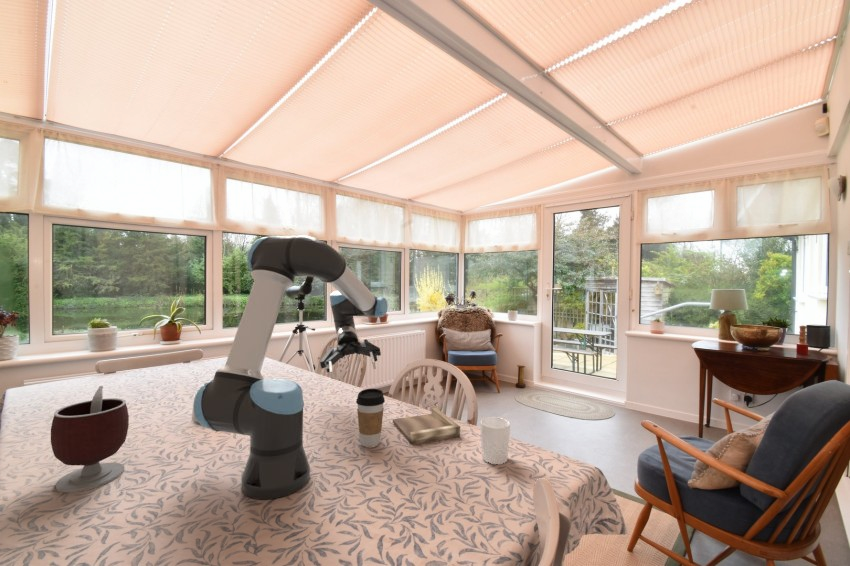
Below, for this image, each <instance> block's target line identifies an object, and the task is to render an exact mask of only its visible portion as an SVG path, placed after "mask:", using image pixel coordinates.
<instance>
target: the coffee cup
mask: <svg viewBox="0 0 850 566" xmlns="http://www.w3.org/2000/svg"><path fill="white" fill-rule="evenodd" d="M355 402H356V404H357V411H356V412H357V421H358V424H357V425H358V432H359V433H358V435H359V445H360V444H361V445H362V447H364V446H365V447H364V448H373V446H375V447H377V446H379V445H380V444H379V443H381V438H382V437H381V434H382V429H383V428H382V427H383V417H384V409H385V408H384V404H385V395H384V392H383V390H381V389H378V388H366V389H362V390H361V391H359V392H358V393H357V398H356V401H355ZM378 444H379V445H378ZM361 445H360V446H361ZM376 445H377V446H376Z"/></svg>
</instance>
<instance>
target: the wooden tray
mask: <svg viewBox="0 0 850 566" xmlns="http://www.w3.org/2000/svg"><path fill="white" fill-rule="evenodd" d="M393 423H394V424H393ZM392 424H393V425H394V427H396V429H397V430H398V429H399V430H400V431H399V432H400V433H401V434H402V435H403V437H404V438H405V437H406V438H405V439H406V440H407V441H408V442H409V443H410V444H412V445H411V446H414V444H416V445H420V443H421V444H426V442H427V443H431V442H436V441H437V442H439V441H442V440H443V439H444V440H448V439H455V438H460V437H461V425H459V424H458V423H456V422H455V421H454V420H453V419H451V418H450V416H448V415H446V414H445V413H443V412H442V411H441V410H440V409H438V408H437V407H432V408H431V413H428V414H427V413H426V414H420V415H414V416H407V417H406V416H405V417H401V418H392Z"/></svg>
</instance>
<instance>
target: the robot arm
mask: <svg viewBox="0 0 850 566" xmlns="http://www.w3.org/2000/svg"><path fill="white" fill-rule="evenodd" d="M247 264H248V268H249V270H250V271H251V272H250V276H251V278H252V279H253V284H252V287H251V290H250V292H249V295H248V298H247V301H246V304H245V307H244V310H243V312H242V317H241V318H240V321H239V323H238V324H239V325H238V327H237V331H236V333H235V336H234V339H233V342H232V345H231V347H230V350H229V353H228V355H227V356H228V357H227V358H226V362H225V364H224V366H223V367H220V368H218V369H216V370H215V373H214V375H213V379H211V380H208V381H207V382H205V383H204V385H202V386H200V387H199V389H198V391H197V392H196V395H195V396H194V397H195V398H194V402H193V413H194V417H195V418H196V420H197V422H198V424H199V425H201V426H202V427H203V428H206V429H209V430H213V431H214V432H221V433H222V432H225V433H229V434H237V435H242V436H243V435H244V436H250V437H249V438H250V439H249V440H250V441H249V446H250V447H249V455H248V457H247V461H246V464H245V468H244V470H243V473H242V475H241V491H242V493H243V494H244V495H245V496H247V497H249V498H251V499H254V500H271V499H272V500H273V499H278V498H283V497H285V496H289V495H291V494H294V493H295V492H297V491H299V490H300V489H302V488H303V487H305V486H306V485H307V484H308V482H309V480H310V478H311V466H310V463H309V460H308V457H307V454H306V451H305V448H304V445H303V441H304V440H303V437H304V435H303V432H304V431H303V429H304V407H305V402H304V397H303V395H304V393H303V389H302V386H300V385H299V384H298V383H297V382H295V381H294V380H293V381H292V380H289V379H286V378H264V377H263V375H262V373H261V371H262V368H263V364H264V361H265V358H266V355H267V352H268V349H269V346H270V345H269V344H270V341H271V338H272V336H273V332H274V329H275V325H276V322H277V318H278V316H279V313H280V309H281V307H282V302H283V299H284V296H285V294H286V290H287V289H290V288H292V287H293V285H294V283H295V282H294V281H295V279H296V277H312V278H317V279H319V280H320V281H321V282H323V283H325V284H330V285H331V286H332V287H333V288H334V289H335V290H333V292H331V293H330V294H329V301H330V308H331V311H332V316H333V317H332V318H333V322H334V328H335V333H336V341H337V346H336V347H335V348H334V347H332V346H329V347H328V350H327V352H326V353H325V354H324V355H323V357H322V358H321V360H320V361H319V364H320V368H321V369H322V370H323V369H325V370H326V373H329V375H330V380H333V379H335V378H334V377H335V376H334V367H333V366H334V365H335V364H336V363H337V362H338V361H339V360H340V359H343V358H344V357H345V356H350V355H354V354H356V355H363V356H366V357H369V358H370V362H371V364H372V365H371V366H372V368H373V370H376V369H377V366H376V362H377V361H378V357H379V356H381V355H382V354H381V353H382V352H381V348H380V347H378V346H376V345H375V344H374V343H372V342H369V340H368V339H363V341H362V342H360V341H359V337H358V332H357V330H356V324H355V319H354V317H363V318H365V317H366V318H384V317H385V316H386V315H387V312H388V307H389V306H388V305H389V304H388V301H387V299H386V297H382V296H375V294H374V293H372V291H371V290H370V289H369V288H368V287H367V286H366V285H365V284H364V282H362V280H360V279H359V277H358V276H357V275H356V274H355V273H354V272H353V271H352V270H351V269H350V268H349V266H347V261H346V259H345V258H344V256H342V254H340V253H339V252H338V251H337V250H336V249H335V248H334V247H332V246H331V245H330V244H328V243H326V242H325V241H322V240H321V239H319V238H317V237H313V236H309V235H290V236H289V235H286V236H282V235H281V236H277V235H270V236H265V237H261V238H258V239H257V240H255V241H254V242H253V243H252V244H251V246H250V248H249V250H248V253H247Z"/></svg>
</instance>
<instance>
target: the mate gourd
mask: <svg viewBox="0 0 850 566" xmlns="http://www.w3.org/2000/svg"><path fill="white" fill-rule="evenodd" d="M103 388H104V386H103V385H100V386H99V387H98V388H97V390H96V391H95V393H94V394H93V397H92V400H85V401H80V402H76V403H72V404H70V405H67V406H63V407H61V408H58V409H57V410H55V411H54V413H53V415H54V416H53V418H52V422H51V427H50V445H51V449H52V453H53V456H54V457H55V458H56V459H57V460H58V461H59V462H61V463H63V464H64V465H66V466H83V467H82V468H78V469H76V470H73V471H72V472H69V473H67V474H65V475H63V476H62V477H61V478H59V479H58V480H57V481H56V482H55V490H56V491H58V492H60V493H78V492H84V491H88V490H92V489H94V488H99V487H102V486H104V485H106V484H109V483H111V482H113V481H114V480H117V479H118V478H119V477H121V476H122V475H123V473H125V466H124V464H122V463H121V462H103V463H100V462H102V461H103V460H106V459H107V458H110V457H111V456H113V455H115V454H116V453H118V451H119V450H120V448H121V447H122V446H123V445H124V443H125V442H126V439H127V436H128V430H129V422H130V421H129V420H130V419H129V417H130V416H129V410H128V406H127V401H126V399H123V398H111V397H110V398H103V397H104V396H103Z"/></svg>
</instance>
